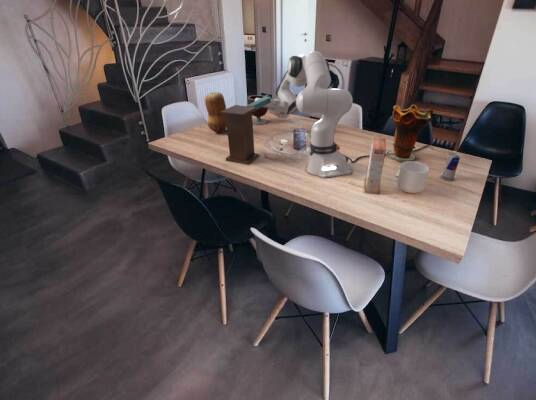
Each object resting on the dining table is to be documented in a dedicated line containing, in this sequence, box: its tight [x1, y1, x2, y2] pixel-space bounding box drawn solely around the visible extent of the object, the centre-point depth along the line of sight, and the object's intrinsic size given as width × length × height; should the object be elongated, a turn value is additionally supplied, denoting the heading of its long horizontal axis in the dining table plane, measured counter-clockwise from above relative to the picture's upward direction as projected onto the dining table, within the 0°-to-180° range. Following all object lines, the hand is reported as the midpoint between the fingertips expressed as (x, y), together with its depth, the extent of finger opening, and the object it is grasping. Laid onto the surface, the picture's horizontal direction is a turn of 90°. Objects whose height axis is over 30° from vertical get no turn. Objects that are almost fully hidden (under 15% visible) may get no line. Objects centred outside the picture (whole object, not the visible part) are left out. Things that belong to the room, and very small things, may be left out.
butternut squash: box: [204, 91, 227, 134], centre depth 193 cm, size 14×13×25 cm
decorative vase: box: [386, 104, 434, 162], centre depth 166 cm, size 21×23×28 cm
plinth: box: [220, 104, 260, 165], centre depth 158 cm, size 14×13×26 cm
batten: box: [246, 95, 272, 111], centre depth 171 cm, size 22×4×3 cm, turn 160°
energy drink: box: [441, 152, 461, 181], centre depth 148 cm, size 5×5×12 cm
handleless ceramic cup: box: [396, 160, 430, 194], centre depth 137 cm, size 12×12×11 cm
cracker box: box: [365, 137, 387, 194], centre depth 136 cm, size 14×6×21 cm, turn 168°
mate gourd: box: [247, 93, 270, 126], centre depth 216 cm, size 16×14×20 cm
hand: (266, 99), depth 177 cm, fingers closed on batten, 3 cm apart
